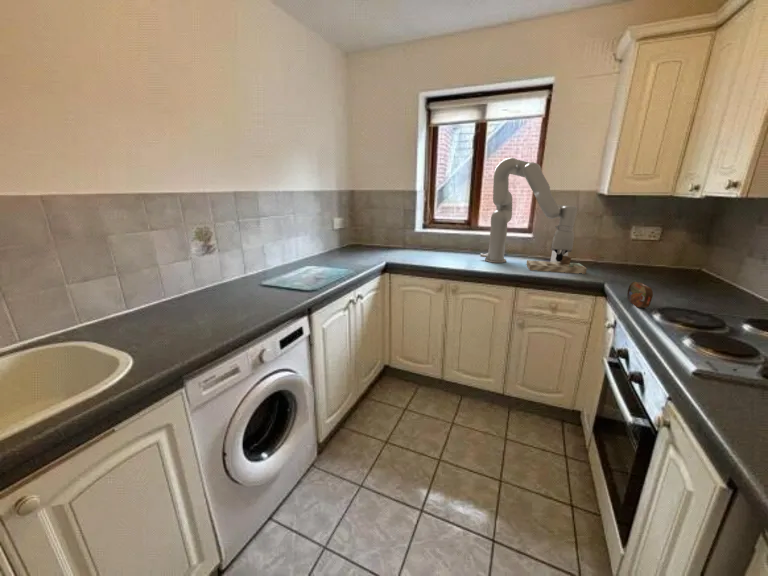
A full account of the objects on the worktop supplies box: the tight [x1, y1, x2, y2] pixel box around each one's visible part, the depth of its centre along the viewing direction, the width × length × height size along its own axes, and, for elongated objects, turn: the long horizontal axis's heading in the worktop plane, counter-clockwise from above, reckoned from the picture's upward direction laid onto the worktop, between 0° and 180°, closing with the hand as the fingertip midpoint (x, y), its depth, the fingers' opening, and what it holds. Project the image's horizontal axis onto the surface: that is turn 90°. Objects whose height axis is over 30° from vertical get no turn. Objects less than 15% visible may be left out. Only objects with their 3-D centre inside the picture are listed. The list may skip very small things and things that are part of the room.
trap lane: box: [525, 260, 588, 275], centre depth 185 cm, size 28×13×3 cm, turn 75°
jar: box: [549, 249, 569, 262], centre depth 199 cm, size 9×8×12 cm
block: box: [561, 255, 572, 265], centre depth 185 cm, size 4×4×4 cm
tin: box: [626, 281, 654, 309], centre depth 128 cm, size 15×3×8 cm, turn 163°
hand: (558, 261), depth 186 cm, fingers closed
